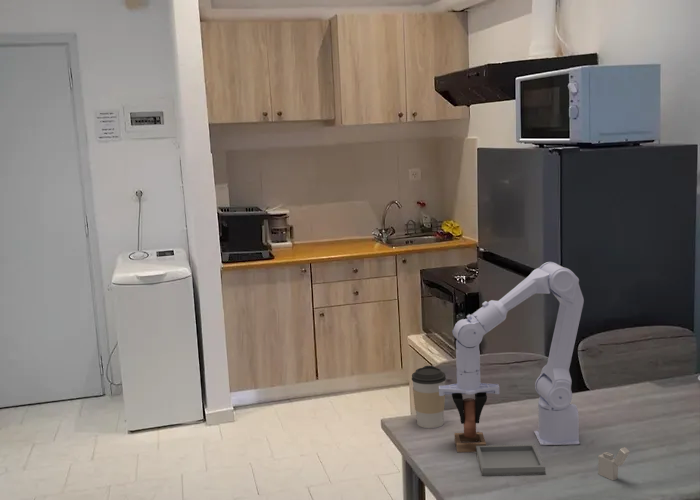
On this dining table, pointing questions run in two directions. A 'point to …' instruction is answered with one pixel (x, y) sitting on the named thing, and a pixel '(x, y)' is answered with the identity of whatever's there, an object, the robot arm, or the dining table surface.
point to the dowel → (469, 417)
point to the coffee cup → (428, 396)
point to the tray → (510, 460)
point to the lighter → (611, 463)
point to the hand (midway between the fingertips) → (469, 422)
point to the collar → (469, 447)
